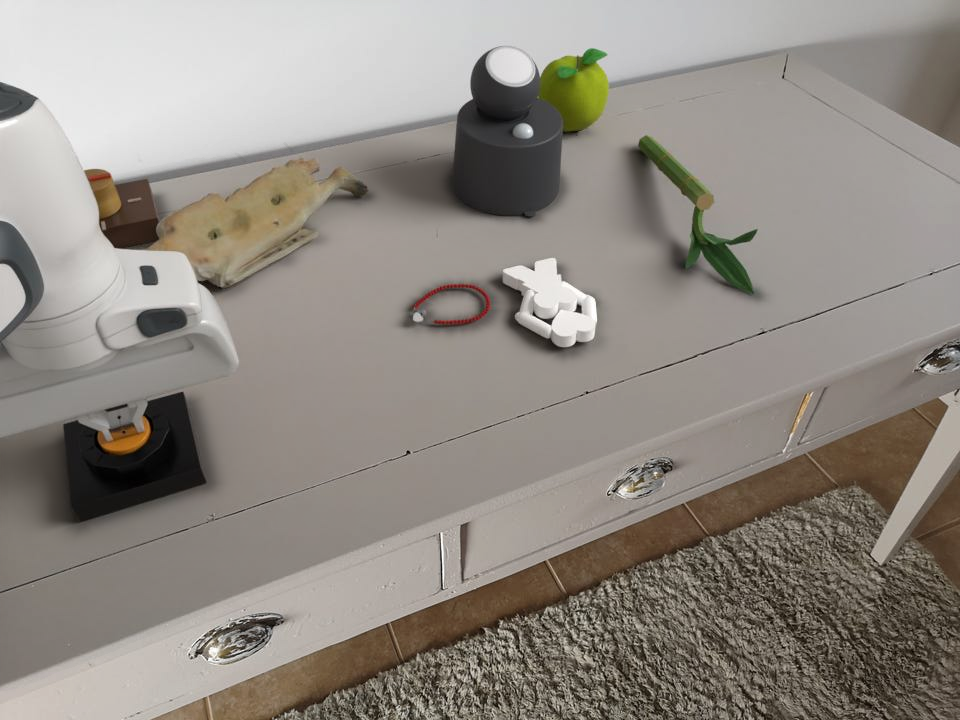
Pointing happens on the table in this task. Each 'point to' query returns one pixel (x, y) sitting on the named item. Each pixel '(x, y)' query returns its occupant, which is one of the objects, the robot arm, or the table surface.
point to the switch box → (133, 462)
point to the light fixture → (507, 138)
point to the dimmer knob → (103, 191)
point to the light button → (126, 441)
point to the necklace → (420, 314)
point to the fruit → (576, 88)
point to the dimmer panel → (132, 216)
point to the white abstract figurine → (552, 304)
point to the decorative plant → (700, 218)
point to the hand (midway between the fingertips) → (125, 430)
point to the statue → (251, 222)
